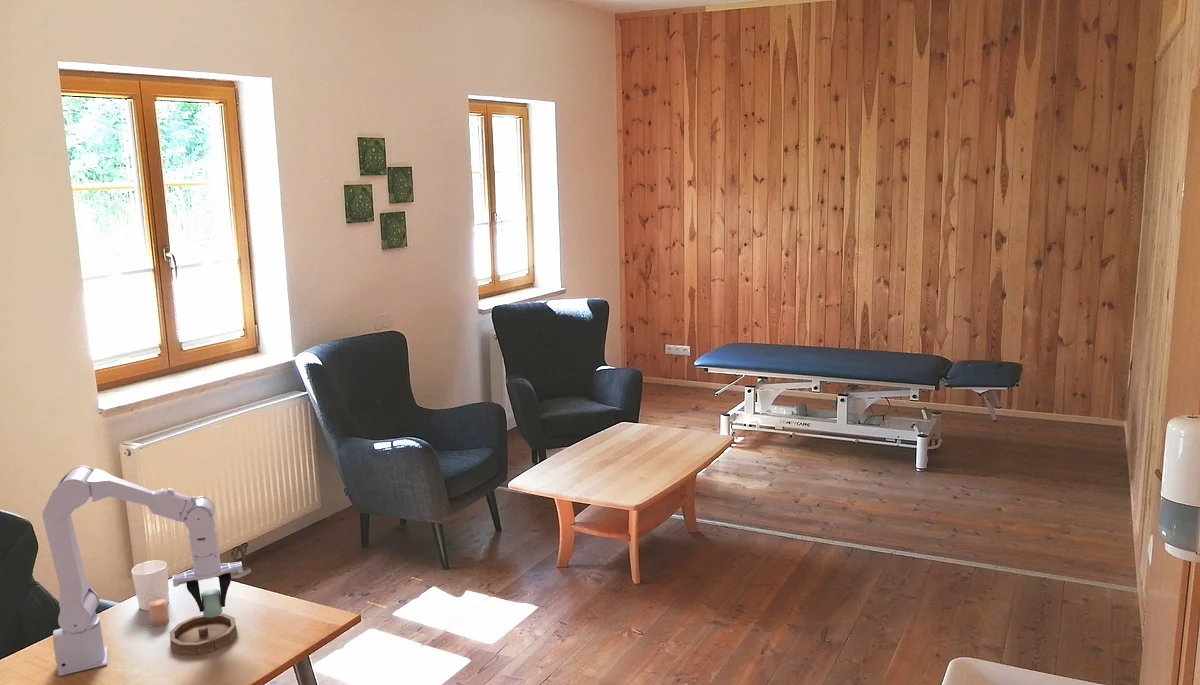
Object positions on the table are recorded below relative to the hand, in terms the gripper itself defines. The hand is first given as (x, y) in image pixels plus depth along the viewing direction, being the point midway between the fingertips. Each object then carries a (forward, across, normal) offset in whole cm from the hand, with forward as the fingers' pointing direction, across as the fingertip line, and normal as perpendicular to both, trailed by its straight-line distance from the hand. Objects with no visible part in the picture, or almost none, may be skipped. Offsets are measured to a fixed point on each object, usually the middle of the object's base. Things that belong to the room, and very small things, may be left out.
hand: (212, 607), depth 218 cm
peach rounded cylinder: (+8, +12, -16) cm, 21 cm away
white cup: (+9, +12, -26) cm, 31 cm away
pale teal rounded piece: (+2, 0, 0) cm, 2 cm away
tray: (+8, +2, -2) cm, 9 cm away
